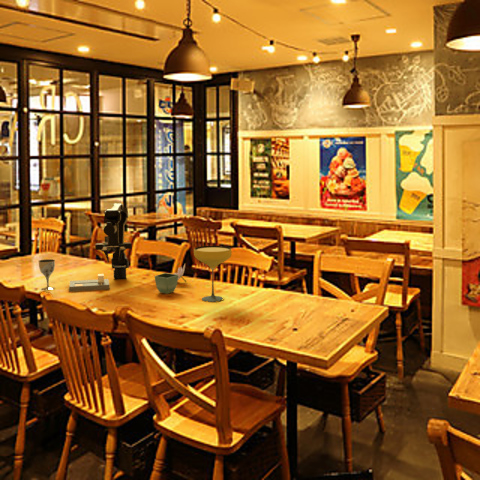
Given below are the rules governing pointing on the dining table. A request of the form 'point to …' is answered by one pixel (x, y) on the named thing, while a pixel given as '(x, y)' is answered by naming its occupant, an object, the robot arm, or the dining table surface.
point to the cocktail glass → (212, 262)
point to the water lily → (180, 273)
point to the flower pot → (166, 282)
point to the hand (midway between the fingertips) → (113, 262)
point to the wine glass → (47, 270)
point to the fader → (100, 278)
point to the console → (88, 285)
